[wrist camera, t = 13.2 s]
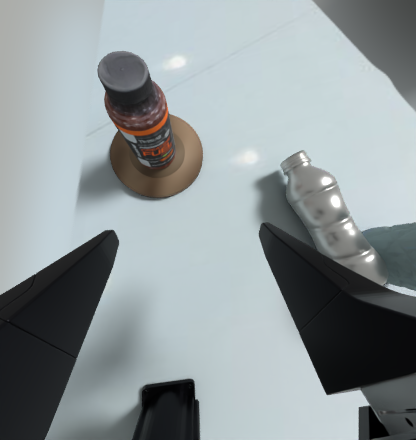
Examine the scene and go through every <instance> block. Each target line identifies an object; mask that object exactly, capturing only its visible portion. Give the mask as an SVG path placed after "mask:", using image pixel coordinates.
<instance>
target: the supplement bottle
mask: <svg viewBox="0 0 416 440" xmlns="http://www.w3.org/2000/svg"><path fill="white" fill-rule="evenodd" d="M98 77H99V79H100V81H101V83H102V84H103V86H104V88H105V90H106V92H105V98H104V102H105V107H106V110H107V113H108V115H109V117H110V118H111V120H112V121H113V123H114V124H115V126H116V127H117V129H118V130H119V132H120V133H121V135H122V136H123V138H124V139H125V141H126V142H127V144H128V145H129V147H130V149H131V150H132V152H133V153H134V155H135V156H136V158H137V159H138V160H139V162H140V163H141V164H142V165H144V166H145V167H147V168H150V169H163V168H165V167H167V166H169V165H170V164H171V163H172V162H173V160H174V158H175V155H176V148H175V142H174V137H173V132H172V127H171V122H170V117H169V112H168V107H167V103H166V99H165V96H164V94H163V92H162V90H161V89H160V87H159V86H158V85H157V84H156V83H155V82H154V81H152V80H151V77H150V74H149V71H148V67H147V65H146V63H145V62H144V60H143V59H141V58H140V57H139V56H138V55H135V54H133V53H131V52H126V51H117V52H112V53H109V54H108V55H107V56H105V57H104V58H103V59H102V60H101V61H100V63H99V65H98Z"/></svg>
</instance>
